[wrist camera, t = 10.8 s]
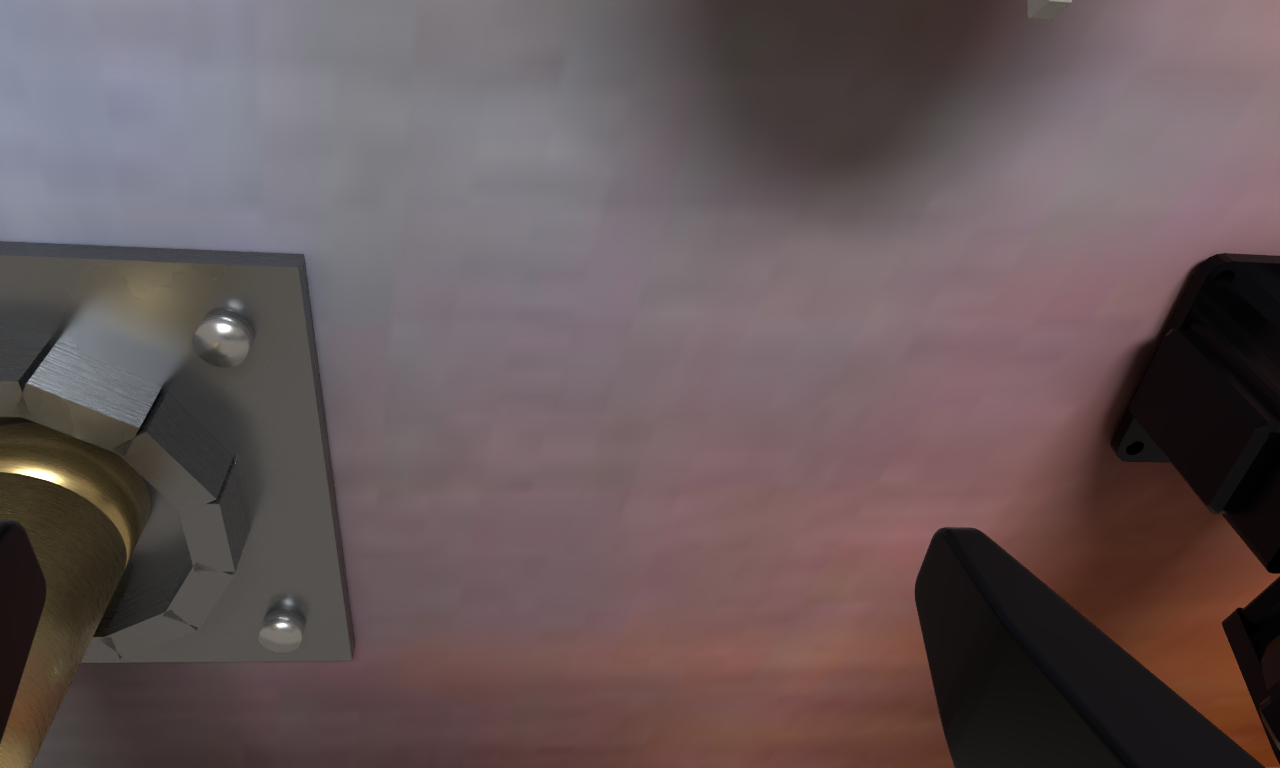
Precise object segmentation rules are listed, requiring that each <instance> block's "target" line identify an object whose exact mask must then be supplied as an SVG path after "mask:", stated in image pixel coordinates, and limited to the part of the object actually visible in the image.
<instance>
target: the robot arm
mask: <svg viewBox="0 0 1280 768" xmlns="http://www.w3.org/2000/svg"><path fill="white" fill-rule="evenodd" d="M1222 271H1224V273H1223V274H1222V275H1221V276H1220V277H1218V278H1216V279H1215V277H1216V276H1217V275H1218V274H1219V273H1221V272H1222ZM1133 442H1134V443H1133ZM1131 443H1132V444H1131ZM1129 444H1130V445H1129ZM1110 445H1111V448H1112V450H1113V451H1114V452H1115V454H1116V455H1117V456H1118V458H1120V459H1121V460H1122V461H1127V462H1171V464H1172V465H1173V466H1174V467H1175V469H1176V470H1177V471H1178V472H1179V474H1180V475H1181V476H1182V477H1183V479H1184V480H1185V481H1186V482H1187V484H1188V485H1189V486H1190V487H1191V489H1192V490H1193V491H1194V492H1195V494H1196V495H1197V496H1198V497H1199V499H1200V500H1201V501H1202V502H1203V504H1204V505H1205V506H1206V507H1207V509H1208V510H1209V511H1210V512H1212V513H1213V514H1222V515H1223V517H1224V518H1225V519H1226V520H1227V522H1228V523H1229V524H1230V525H1231V526H1232V528H1233V529H1234V530H1235V531H1236V533H1237V534H1238V535H1239V536H1240V538H1241V539H1242V540H1243V541H1244V542H1245V544H1246V545H1247V546H1248V547H1249V549H1250V550H1251V551H1252V552H1253V554H1254V555H1255V556H1256V557H1257V558H1258V560H1259V561H1260V562H1261V563H1262V565H1263V566H1264V567H1265V568H1266V570H1267V571H1268V572H1270V573H1280V256H1268V255H1248V254H1227V253H1223V254H1216V255H1214V256H1212V257H1209V258H1208V259H1206V260H1205V261H1204V262H1203V263H1201V265H1200V266H1199V268H1198V269H1197V271H1196V273H1195V274H1194V276H1193V278H1192V280H1191V282H1190V284H1189V286H1188V288H1187V290H1186V292H1185V294H1184V296H1183V298H1182V300H1181V302H1180V304H1179V306H1178V308H1177V310H1176V312H1175V314H1174V316H1173V318H1172V320H1171V322H1170V324H1169V326H1168V328H1167V330H1166V332H1165V334H1164V336H1163V338H1162V340H1161V342H1160V344H1159V346H1158V348H1157V350H1156V352H1155V354H1154V356H1153V358H1152V360H1151V362H1150V364H1149V366H1148V368H1147V370H1146V372H1145V374H1144V376H1143V378H1142V380H1141V382H1140V384H1139V386H1138V387H1137V389H1136V391H1135V393H1134V395H1133V397H1132V399H1131V401H1130V403H1129V405H1128V407H1127V409H1126V411H1125V413H1124V415H1123V417H1122V419H1121V421H1120V423H1119V425H1118V427H1117V429H1116V431H1115V433H1114V435H1113V437H1112V439H1111V443H1110ZM46 594H47V586H46V580H45V576H44V574H43V571H42V569H41V566H40V564H39V561H38V559H37V556H36V554H35V552H34V549H33V547H32V544H31V542H30V539H29V537H28V534H27V532H26V530H25V528H24V527H23V526H22V525H21V524H20V523H18V522H17V521H13V520H0V743H1V741H2V738H3V735H4V732H5V729H6V726H7V723H8V720H9V716H10V713H11V710H12V707H13V704H14V701H15V697H16V694H17V691H18V688H19V685H20V681H21V678H22V675H23V672H24V669H25V666H26V662H27V659H28V656H29V653H30V650H31V646H32V643H33V640H34V637H35V634H36V631H37V627H38V624H39V621H40V618H41V615H42V611H43V608H44V605H45V601H46ZM915 601H916V607H917V611H918V616H919V621H920V625H921V630H922V635H923V639H924V644H925V649H926V653H927V658H928V663H929V667H930V672H931V677H932V681H933V686H934V691H935V695H936V700H937V705H938V709H939V714H940V718H941V722H942V726H943V730H944V734H945V738H946V741H947V744H948V748H949V751H950V754H951V757H952V760H953V763H954V766H955V768H1265V767H1264V766H1263V765H1262V764H1260V763H1259V762H1258V761H1257V760H1256V759H1254V758H1253V757H1252V756H1251V755H1250V754H1248V753H1247V752H1246V751H1245V750H1244V749H1242V748H1241V747H1240V746H1239V745H1238V744H1236V743H1235V742H1234V741H1233V740H1232V739H1230V738H1229V737H1228V736H1227V735H1226V734H1224V733H1223V732H1222V731H1221V730H1220V729H1218V728H1217V727H1216V726H1215V725H1214V724H1212V723H1211V722H1210V721H1209V720H1208V719H1206V718H1205V717H1204V716H1203V715H1202V714H1200V713H1199V712H1198V711H1197V710H1196V709H1194V708H1193V707H1192V706H1191V705H1190V704H1188V703H1187V702H1186V701H1185V700H1184V699H1182V698H1181V697H1180V696H1179V695H1178V694H1176V693H1175V692H1174V691H1173V690H1172V689H1170V688H1169V687H1168V686H1167V685H1166V684H1164V683H1163V682H1162V681H1161V680H1160V679H1158V678H1157V677H1156V676H1155V675H1154V674H1152V673H1151V672H1150V671H1149V670H1148V669H1146V668H1145V667H1144V666H1143V665H1142V664H1140V663H1139V662H1138V661H1137V660H1136V659H1134V658H1133V657H1132V656H1131V655H1130V654H1128V653H1127V652H1126V651H1125V650H1124V649H1122V648H1121V647H1120V646H1119V645H1118V644H1116V643H1115V642H1114V641H1113V640H1112V639H1110V638H1109V637H1108V636H1107V635H1106V634H1104V633H1103V632H1102V631H1101V630H1100V629H1098V628H1097V627H1096V626H1095V625H1094V624H1092V623H1091V622H1090V621H1089V620H1088V619H1086V618H1085V617H1084V616H1083V615H1082V614H1080V613H1079V612H1078V611H1077V610H1076V609H1074V608H1073V607H1072V606H1071V605H1070V604H1068V603H1067V602H1066V601H1065V600H1064V599H1062V598H1061V597H1060V596H1059V595H1058V594H1056V593H1055V592H1054V591H1053V590H1052V589H1050V588H1049V587H1048V586H1047V585H1046V584H1044V583H1043V582H1042V581H1041V580H1040V579H1038V578H1037V577H1036V576H1035V575H1034V574H1032V573H1031V572H1030V571H1029V570H1028V569H1026V568H1025V567H1024V566H1023V565H1022V564H1020V563H1019V562H1018V561H1017V560H1016V559H1014V558H1013V557H1012V556H1011V555H1010V554H1008V553H1007V552H1006V551H1005V550H1004V549H1002V548H1001V547H1000V546H999V545H998V544H996V543H995V542H994V541H993V540H992V539H990V538H989V537H988V536H987V535H986V534H984V533H983V532H981V531H980V530H978V529H975V528H952V527H944V528H941V529H939V530H938V531H937V532H936V533H935V534H934V536H933V538H932V540H931V542H930V545H929V548H928V550H927V553H926V555H925V558H924V561H923V563H922V566H921V568H920V571H919V573H918V576H917V579H916V584H915ZM1222 626H1223V628H1224V631H1225V633H1226V636H1227V638H1228V641H1229V643H1230V645H1231V648H1232V650H1233V653H1234V655H1235V658H1236V660H1237V663H1238V665H1239V668H1240V670H1241V673H1242V675H1243V678H1244V680H1245V682H1246V685H1247V687H1248V690H1249V692H1250V695H1251V697H1252V700H1253V702H1254V705H1255V707H1256V710H1257V712H1258V715H1259V717H1260V719H1261V722H1262V724H1263V727H1264V729H1265V732H1266V734H1267V737H1268V739H1269V742H1270V744H1271V747H1272V749H1273V752H1274V754H1275V756H1276V758H1277V760H1278V762H1279V764H1280V576H1279V577H1278V578H1277V579H1276V580H1275V581H1274V582H1273V583H1272V584H1271V585H1269V586H1268V587H1267V588H1266V589H1265V590H1264V591H1263V592H1262V593H1260V594H1259V595H1258V596H1257V597H1256V598H1255V599H1254V600H1253V601H1251V602H1250V603H1249V604H1248V605H1247V606H1246V607H1245V608H1237V609H1236V610H1235V611H1234V612H1233V613H1232V614H1231V615H1230V616H1228V617H1227V618H1226V619H1225V620H1224V621H1223V622H1222Z"/></svg>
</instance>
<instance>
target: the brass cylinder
mask: <svg viewBox="0 0 1280 768" xmlns="http://www.w3.org/2000/svg"><path fill="white" fill-rule="evenodd" d="M150 510H151V501H150V495H149V492H148V488H147V486H146V484H145V482H144V480H143V478H142V477H141V475H140V474H139V473H138V472H137V471H136V470H134V469H133V468H132V467H131V466H130V465H129V464H128V463H127V462H126V461H125V460H123V459H122V458H121V457H120V456H119V455H118V454H117V453H114V452H112V451H109V450H107V449H104V448H101V447H99V446H96V445H94V444H91V443H88V442H86V441H83V440H81V439H78V438H75V437H73V436H70V435H67V434H65V433H62V432H60V431H57V430H54V429H52V428H49V427H47V426H44V425H41V424H39V423H11V424H6V425H0V520H13V521H17V522H18V523H20V524H21V525H22V526H23V527H24V528H25V530H26V532H27V534H28V537H29V539H30V542H31V544H32V547H33V549H34V552H35V554H36V556H37V559H38V561H39V564H40V566H41V569H42V571H43V574H44V576H45V580H46V586H47V594H46V601H45V605H44V608H43V611H42V615H41V618H40V621H39V624H38V627H37V631H36V634H35V637H34V640H33V643H32V646H31V650H30V653H29V656H28V659H27V662H26V666H25V669H24V672H23V675H22V678H21V681H20V685H19V688H18V691H17V694H16V697H15V701H14V704H13V707H12V710H11V713H10V716H9V720H8V723H7V726H6V729H5V732H4V735H3V738H2V741H1V743H0V768H31V767H32V764H33V762H34V760H35V758H36V756H37V754H38V752H39V750H40V748H41V745H42V743H43V741H44V739H45V737H46V735H47V733H48V731H49V729H50V726H51V724H52V722H53V720H54V718H55V716H56V714H57V712H58V709H59V707H60V705H61V703H62V701H63V699H64V697H65V695H66V693H67V690H68V688H69V686H70V684H71V682H72V680H73V678H74V676H75V674H76V671H77V669H78V667H79V665H80V663H81V661H82V659H83V657H84V655H85V652H86V650H87V648H88V646H89V644H90V642H91V640H92V638H93V636H94V633H95V631H96V629H97V627H98V625H99V623H100V621H101V619H102V617H103V614H104V612H105V610H106V608H107V606H108V604H109V602H110V600H111V597H112V595H113V593H114V591H115V589H116V587H117V585H118V583H119V581H120V578H121V576H122V574H123V572H124V570H125V568H126V566H127V564H128V562H129V559H130V557H131V555H132V553H133V551H134V549H135V547H136V545H137V543H138V540H139V538H140V536H141V534H142V532H143V530H144V528H145V526H146V524H147V521H148V519H149V515H150Z"/></svg>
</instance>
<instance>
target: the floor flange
mask: <svg viewBox="0 0 1280 768" xmlns="http://www.w3.org/2000/svg"><path fill="white" fill-rule="evenodd" d="M11 423H39V424H41V425H44V426H47V427H49V428H52V429H54V430H57V431H60V432H62V433H65V434H67V435H70V436H73V437H75V438H78V439H81V440H83V441H86V442H88V443H91V444H94V445H96V446H99V447H101V448H104V449H107V450H109V451H112V452H114V453H117V454H118V455H119V456H120V457H121V458H122V459H123V460H125V461H126V462H127V463H128V464H129V465H130V466H131V467H132V468H133V469H134V470H136V471H137V472H138V473H139V474H140V475H141V477H142V478H143V480H144V482H145V484H146V486H147V488H148V492H149V495H150V501H151V510H150V515H149V519H148V521H147V524H146V526H145V528H144V530H143V532H142V534H141V536H140V538H139V540H138V543H137V545H136V547H135V549H134V551H133V553H132V555H131V557H130V559H129V562H128V564H127V566H126V568H125V570H124V572H123V574H122V576H121V578H120V581H119V583H118V585H117V587H116V589H115V591H114V593H113V595H112V597H111V600H110V602H109V604H108V606H107V608H106V610H105V612H104V614H103V617H102V619H101V621H100V623H99V625H98V627H97V629H96V631H95V633H94V636H93V638H92V640H91V642H90V644H89V646H88V648H87V650H86V652H85V655H84V657H83V659H82V661H81V663H129V662H264V661H352V658H353V652H354V647H355V642H354V634H353V626H352V619H351V611H350V604H349V596H348V588H347V581H346V573H345V566H344V558H343V550H342V543H341V535H340V528H339V520H338V512H337V505H336V497H335V490H334V482H333V474H332V467H331V459H330V451H329V444H328V436H327V429H326V421H325V413H324V406H323V398H322V391H321V383H320V375H319V368H318V360H317V353H316V345H315V337H314V330H313V322H312V314H311V307H310V299H309V292H308V284H307V276H306V269H305V261H304V254H282V253H259V252H235V251H212V250H188V249H165V248H141V247H118V246H95V245H71V244H48V243H24V242H1V241H0V425H6V424H11Z"/></svg>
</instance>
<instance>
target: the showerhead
mask: <svg viewBox="0 0 1280 768" xmlns="http://www.w3.org/2000/svg"><path fill="white" fill-rule="evenodd" d="M1071 3H1072V0H1028V6H1027V16H1028V18H1034V19H1045V20H1053V19H1054V18H1055V17H1056V16H1057V15H1058V14H1059V13H1061V12H1062V11H1063V10H1064V9H1065V8H1066V7H1067V6H1068V5H1069V4H1071Z"/></svg>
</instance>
